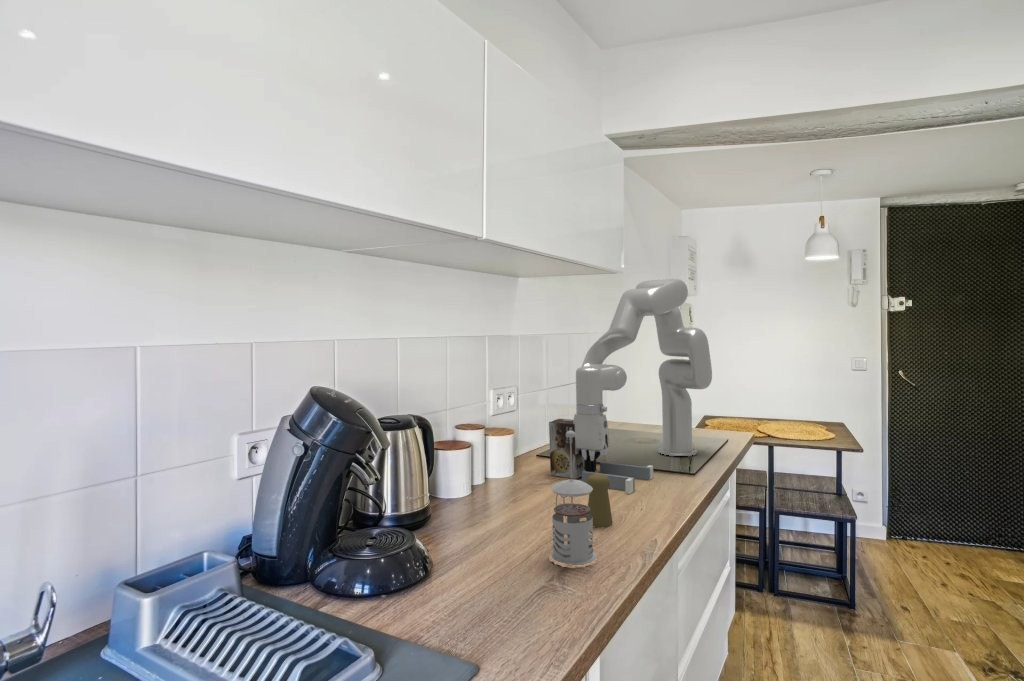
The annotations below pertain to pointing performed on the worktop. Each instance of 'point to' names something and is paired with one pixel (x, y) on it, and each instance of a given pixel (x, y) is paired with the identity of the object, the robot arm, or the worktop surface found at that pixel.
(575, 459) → the coffee box
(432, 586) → the worktop surface
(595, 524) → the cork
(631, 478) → the pair of grey bars
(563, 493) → the french press
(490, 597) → the worktop surface
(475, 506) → the worktop surface
